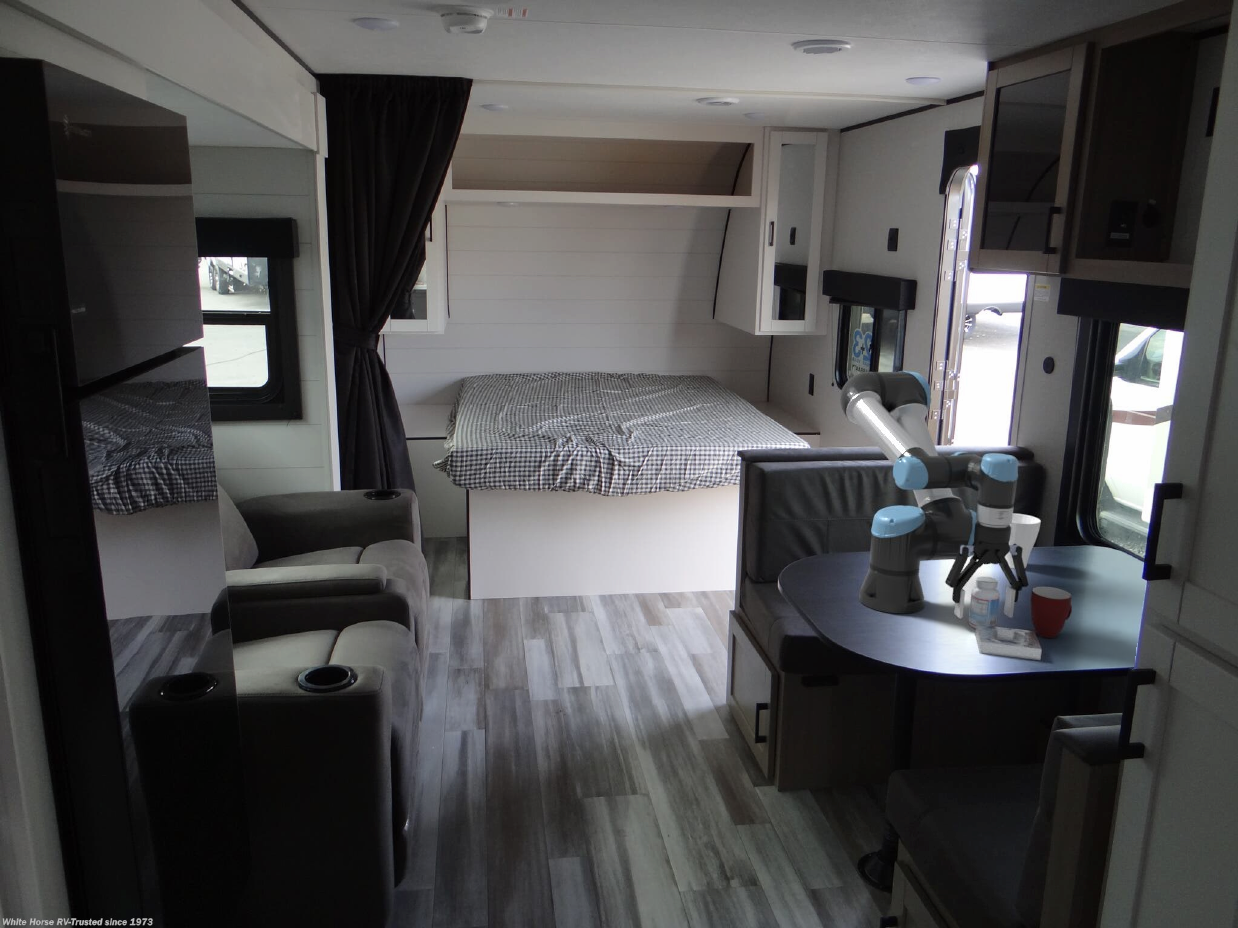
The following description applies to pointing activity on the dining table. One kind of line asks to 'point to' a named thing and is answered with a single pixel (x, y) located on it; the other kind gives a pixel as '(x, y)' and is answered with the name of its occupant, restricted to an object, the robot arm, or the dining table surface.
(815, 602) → the dining table surface
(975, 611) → the pill bottle
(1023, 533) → the cup
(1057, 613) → the mug
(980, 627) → the block
